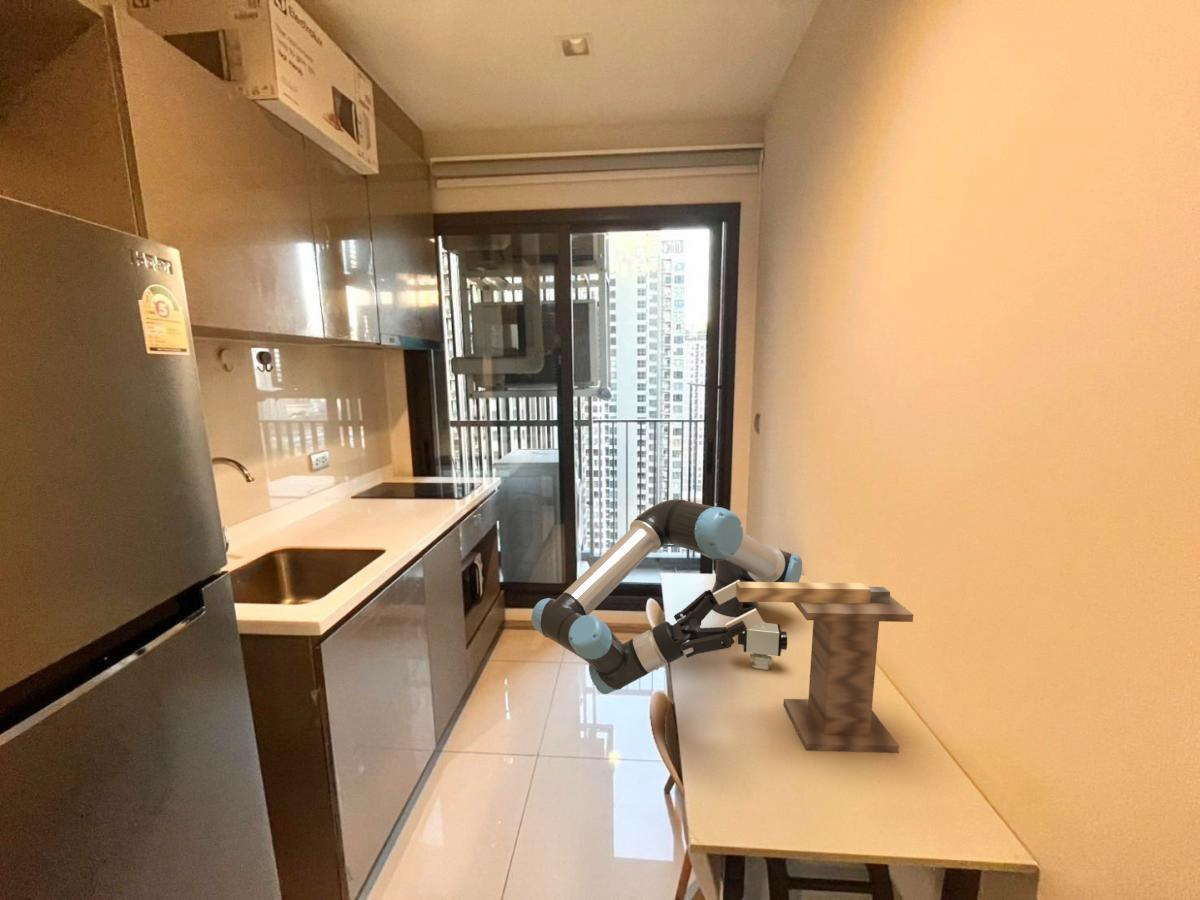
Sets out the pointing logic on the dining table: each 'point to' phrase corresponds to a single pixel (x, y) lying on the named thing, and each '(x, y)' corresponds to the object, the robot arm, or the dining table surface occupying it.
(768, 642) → the pneumatic valve
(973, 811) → the dining table surface
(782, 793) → the dining table surface
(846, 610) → the shelf stand
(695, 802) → the dining table surface
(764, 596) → the brown streaked block
